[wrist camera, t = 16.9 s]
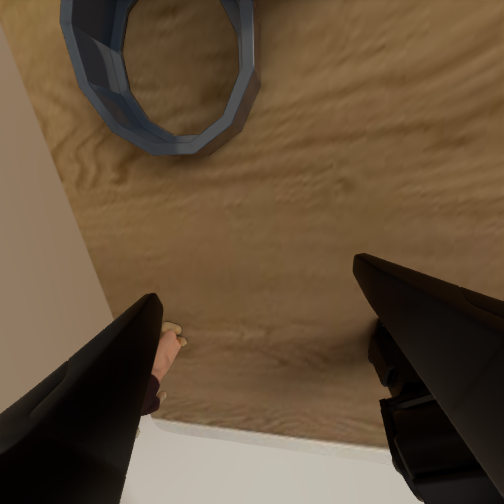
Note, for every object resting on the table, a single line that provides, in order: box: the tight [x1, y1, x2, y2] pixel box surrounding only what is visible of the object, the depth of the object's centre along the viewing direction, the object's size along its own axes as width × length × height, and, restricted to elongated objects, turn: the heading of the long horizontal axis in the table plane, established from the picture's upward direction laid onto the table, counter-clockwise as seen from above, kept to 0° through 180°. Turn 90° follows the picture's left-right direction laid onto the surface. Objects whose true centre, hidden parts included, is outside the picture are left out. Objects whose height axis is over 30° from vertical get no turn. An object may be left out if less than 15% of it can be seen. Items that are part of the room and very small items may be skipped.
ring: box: [60, 0, 261, 156], centre depth 15 cm, size 13×13×4 cm
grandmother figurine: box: [136, 322, 187, 438], centre depth 23 cm, size 8×4×13 cm, turn 19°
